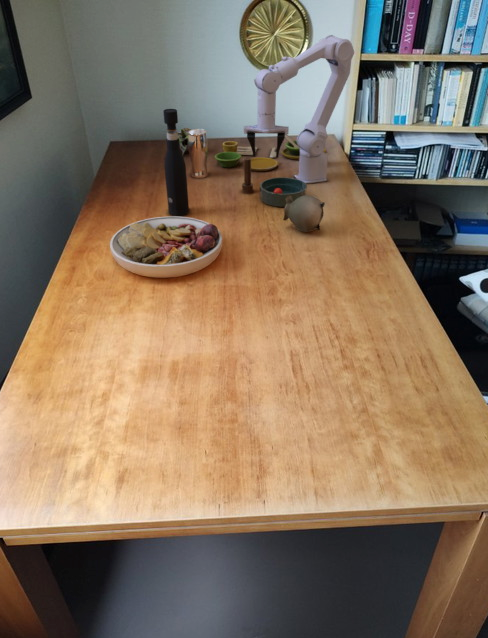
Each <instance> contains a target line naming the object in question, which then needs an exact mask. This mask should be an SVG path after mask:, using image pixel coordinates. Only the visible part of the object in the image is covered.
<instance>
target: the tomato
mask: <svg viewBox="0 0 488 638" xmlns="http://www.w3.org/2000/svg"><path fill="white" fill-rule="evenodd" d="M273 193H278V194H282V190H281V189H280V188H276V189H275V190H274V192H273Z"/></svg>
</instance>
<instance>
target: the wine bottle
mask: <svg viewBox="0 0 488 638" xmlns="http://www.w3.org/2000/svg"><path fill="white" fill-rule="evenodd" d="M163 123H164V124H165V125H166V128H167V129H166V130H167V131H166V139H165V140H166V152H165V157H164V165H163V166H164V168H163V169H164V176H165V177H164V178H165V187H166V188H165V189H166V199H167V206H168V214H169V215H170V216H179V217H185V216H187V215H188V214H189V213H190V207H189V206H190V204H189V191H188V178H187V165H186V161H185V158H184V154H183V155H182V149H181V147H180V144H179V138H178V131H177V124H178V123H179V118H178V109H176V108H166V109H163Z"/></svg>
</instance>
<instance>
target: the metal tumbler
mask: <svg viewBox="0 0 488 638" xmlns="http://www.w3.org/2000/svg"><path fill="white" fill-rule="evenodd" d="M208 149H209V143H208V133H207V130H206V129H203V128H194V129H192V130H189V131H188V148H187V150H188V154H189V159H190V164H191V172H190V176H191V177H192V178H195V179H203V178H206V177H208V176H209V172H208V166H207V161H208V160H207V159H208V151H209V150H208Z"/></svg>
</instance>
